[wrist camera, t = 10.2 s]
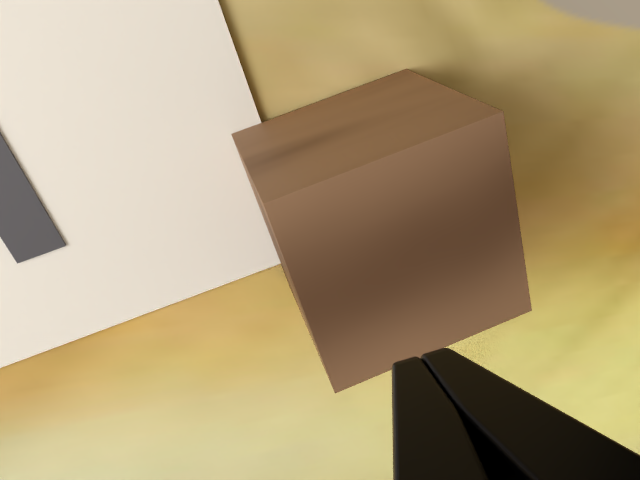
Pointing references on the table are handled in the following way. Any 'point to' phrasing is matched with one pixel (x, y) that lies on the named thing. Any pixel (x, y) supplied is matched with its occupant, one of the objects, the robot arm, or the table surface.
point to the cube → (390, 220)
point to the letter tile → (118, 165)
